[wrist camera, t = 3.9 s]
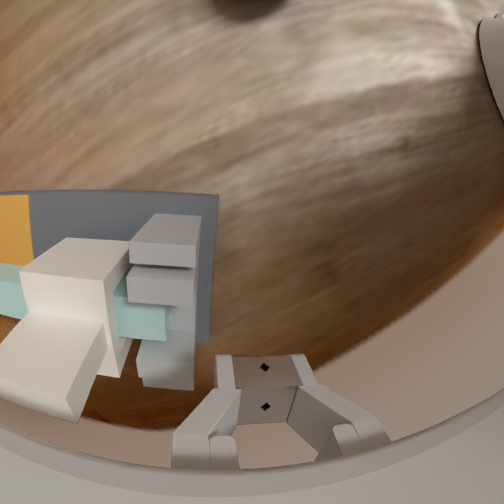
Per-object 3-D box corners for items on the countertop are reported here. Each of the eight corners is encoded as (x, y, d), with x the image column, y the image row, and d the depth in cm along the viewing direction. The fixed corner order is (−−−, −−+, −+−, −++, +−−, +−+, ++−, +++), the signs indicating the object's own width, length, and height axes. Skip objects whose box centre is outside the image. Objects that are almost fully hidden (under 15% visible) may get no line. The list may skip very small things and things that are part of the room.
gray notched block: (201, 216, 14) (195, 250, 9) (196, 331, 16) (193, 398, 11) (155, 213, 14) (125, 246, 9) (157, 328, 16) (141, 393, 11)
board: (218, 195, 15) (218, 197, 14) (209, 335, 18) (209, 345, 17) (-36, 194, 12) (-44, 197, 11) (-18, 302, 15) (-25, 308, 14)
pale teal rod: (170, 279, 12) (164, 301, 11) (171, 316, 13) (166, 341, 11) (-46, 256, 10) (-64, 266, 8) (-40, 283, 11) (-57, 296, 9)
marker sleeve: (135, 241, 13) (53, 351, 5) (139, 321, 14) (98, 452, 6) (66, 237, 12) (-42, 322, 4) (77, 313, 14) (10, 423, 6)
